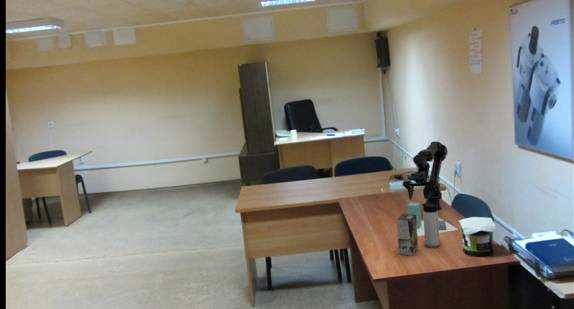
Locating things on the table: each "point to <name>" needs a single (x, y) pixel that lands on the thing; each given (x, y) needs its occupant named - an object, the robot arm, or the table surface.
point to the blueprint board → (448, 228)
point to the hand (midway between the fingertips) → (418, 199)
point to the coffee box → (407, 234)
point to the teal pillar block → (415, 212)
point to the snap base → (441, 225)
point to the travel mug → (431, 225)
